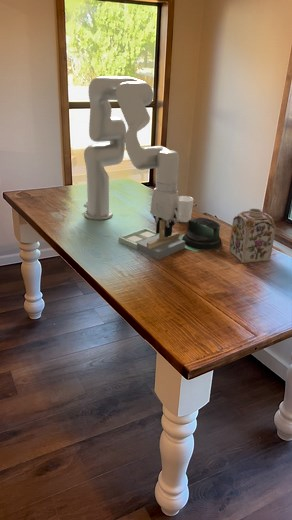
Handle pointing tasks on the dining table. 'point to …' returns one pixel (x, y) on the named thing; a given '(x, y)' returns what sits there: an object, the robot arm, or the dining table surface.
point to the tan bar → (162, 236)
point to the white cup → (185, 208)
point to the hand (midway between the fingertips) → (163, 234)
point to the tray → (129, 243)
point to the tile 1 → (135, 239)
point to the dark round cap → (202, 234)
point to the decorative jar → (252, 236)
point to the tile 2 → (146, 235)
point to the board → (160, 247)
